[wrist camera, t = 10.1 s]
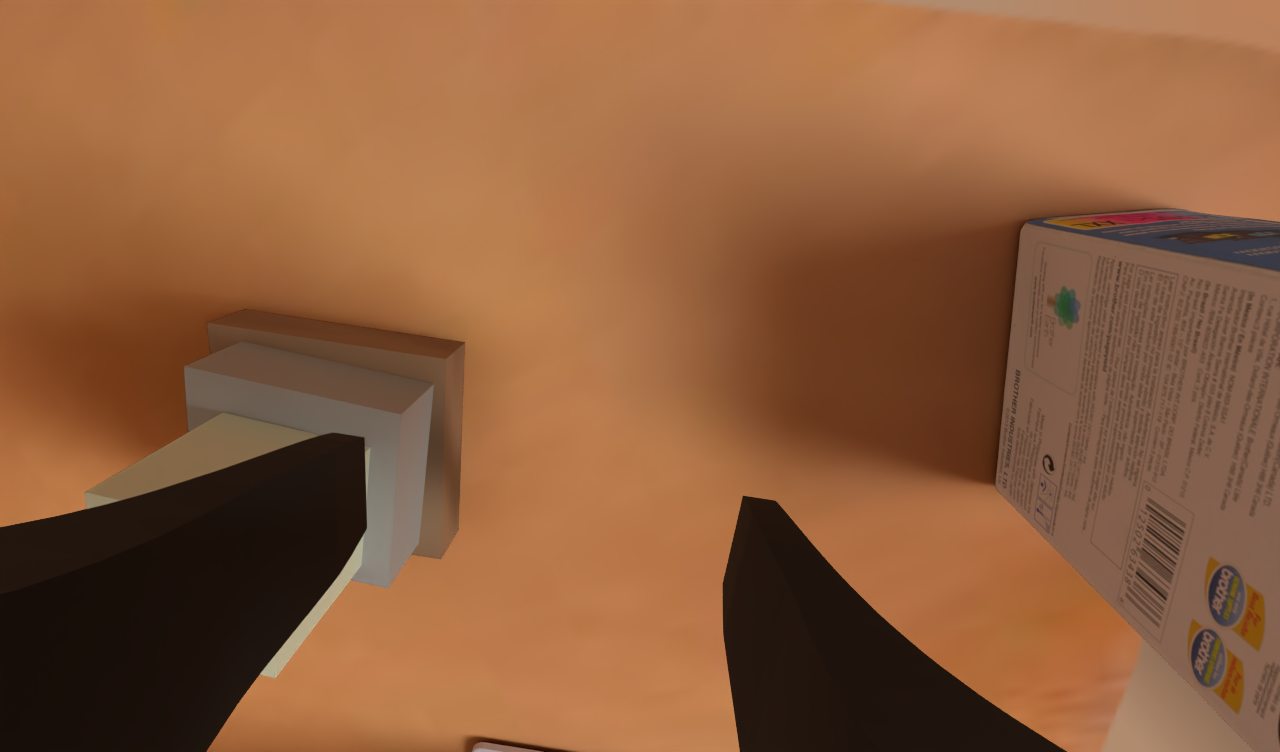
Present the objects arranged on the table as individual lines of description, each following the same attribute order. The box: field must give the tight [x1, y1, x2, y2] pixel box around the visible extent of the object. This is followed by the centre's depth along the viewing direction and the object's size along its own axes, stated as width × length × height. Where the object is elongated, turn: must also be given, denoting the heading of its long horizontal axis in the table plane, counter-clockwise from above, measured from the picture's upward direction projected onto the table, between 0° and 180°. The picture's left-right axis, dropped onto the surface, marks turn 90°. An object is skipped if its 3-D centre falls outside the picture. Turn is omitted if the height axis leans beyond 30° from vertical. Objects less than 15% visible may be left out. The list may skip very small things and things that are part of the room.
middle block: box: [184, 341, 434, 588], centre depth 20 cm, size 6×6×2 cm
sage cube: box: [84, 412, 371, 678], centre depth 17 cm, size 4×4×4 cm
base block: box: [207, 309, 465, 559], centre depth 22 cm, size 8×8×2 cm
